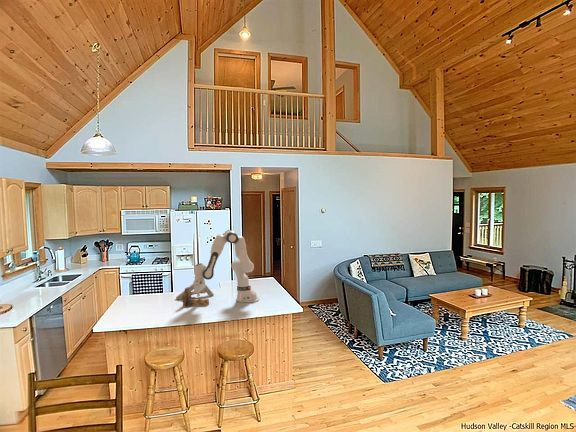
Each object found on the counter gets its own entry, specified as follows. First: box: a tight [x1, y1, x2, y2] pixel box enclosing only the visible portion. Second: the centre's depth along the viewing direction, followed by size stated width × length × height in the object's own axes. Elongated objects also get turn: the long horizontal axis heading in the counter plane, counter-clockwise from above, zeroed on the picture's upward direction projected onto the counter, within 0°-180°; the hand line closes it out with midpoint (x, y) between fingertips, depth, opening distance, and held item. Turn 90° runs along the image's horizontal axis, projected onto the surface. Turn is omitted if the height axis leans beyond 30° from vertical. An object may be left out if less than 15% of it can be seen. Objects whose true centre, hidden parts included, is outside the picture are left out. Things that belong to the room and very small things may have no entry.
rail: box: [190, 296, 210, 306], centre depth 314 cm, size 17×4×6 cm, turn 85°
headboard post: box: [182, 286, 196, 308], centre depth 315 cm, size 7×16×16 cm, turn 175°
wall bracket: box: [175, 283, 214, 300], centre depth 338 cm, size 22×4×30 cm
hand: (200, 294), depth 315 cm, fingers open, 8 cm apart
